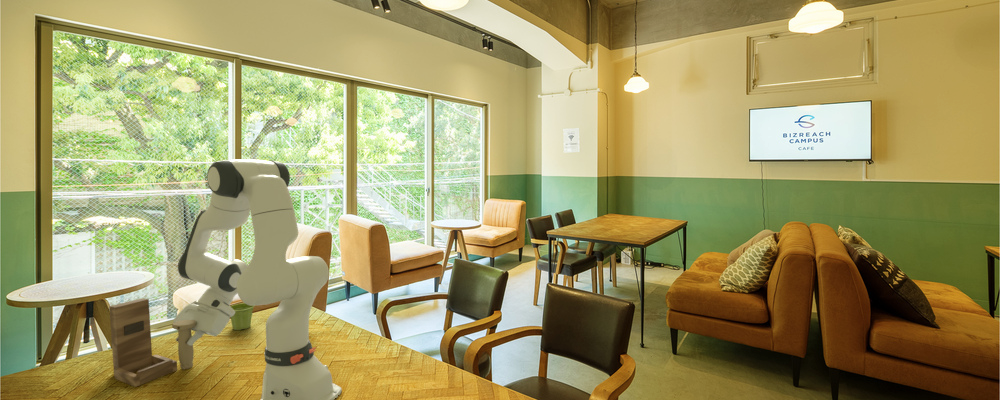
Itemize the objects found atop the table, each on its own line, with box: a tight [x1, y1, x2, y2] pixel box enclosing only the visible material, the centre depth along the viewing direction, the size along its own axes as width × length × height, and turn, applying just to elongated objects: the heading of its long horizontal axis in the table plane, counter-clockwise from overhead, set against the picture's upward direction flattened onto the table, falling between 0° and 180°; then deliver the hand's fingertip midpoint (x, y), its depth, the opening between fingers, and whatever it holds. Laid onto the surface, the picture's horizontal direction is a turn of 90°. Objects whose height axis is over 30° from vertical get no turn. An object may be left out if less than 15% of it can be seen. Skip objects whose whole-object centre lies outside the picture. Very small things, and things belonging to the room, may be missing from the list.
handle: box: [171, 320, 196, 370], centre depth 139 cm, size 5×6×15 cm
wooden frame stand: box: [108, 297, 178, 388], centre depth 135 cm, size 14×11×22 cm
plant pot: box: [229, 302, 256, 331], centre depth 173 cm, size 9×9×9 cm
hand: (183, 343), depth 138 cm, fingers closed on handle, 4 cm apart
